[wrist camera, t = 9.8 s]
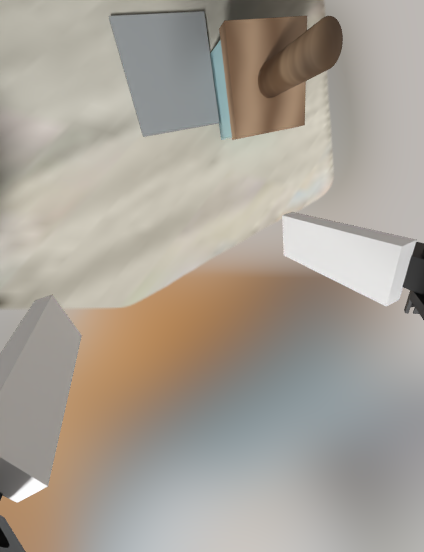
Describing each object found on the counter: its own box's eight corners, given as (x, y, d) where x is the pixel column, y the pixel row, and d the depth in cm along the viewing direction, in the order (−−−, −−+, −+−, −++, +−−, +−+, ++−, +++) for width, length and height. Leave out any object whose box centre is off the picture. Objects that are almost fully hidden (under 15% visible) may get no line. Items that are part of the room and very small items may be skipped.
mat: (143, 136, 30) (143, 136, 30) (109, 19, 25) (108, 15, 24) (217, 123, 33) (219, 122, 32) (202, 14, 27) (204, 11, 27)
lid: (232, 139, 30) (278, 125, 21) (219, 28, 25) (273, -54, 16) (297, 126, 32) (363, 109, 24) (298, 23, 27) (383, -51, 18)
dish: (221, 139, 34) (235, 135, 30) (209, 54, 29) (224, 34, 25) (275, 129, 36) (295, 123, 32) (272, 48, 31) (295, 29, 27)
